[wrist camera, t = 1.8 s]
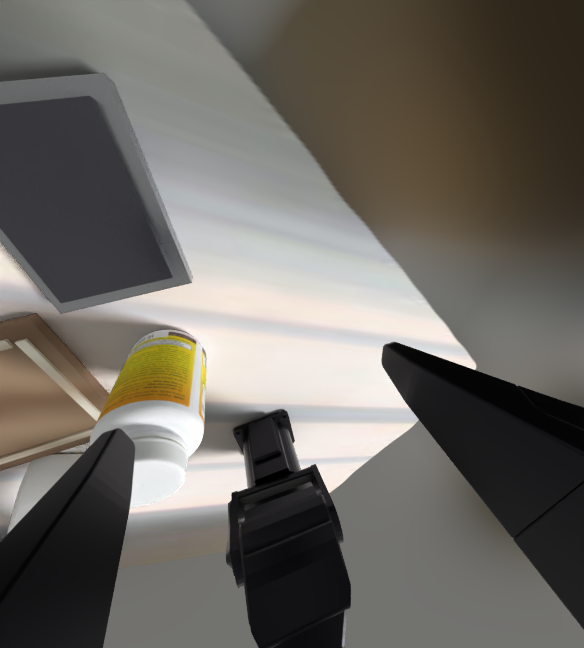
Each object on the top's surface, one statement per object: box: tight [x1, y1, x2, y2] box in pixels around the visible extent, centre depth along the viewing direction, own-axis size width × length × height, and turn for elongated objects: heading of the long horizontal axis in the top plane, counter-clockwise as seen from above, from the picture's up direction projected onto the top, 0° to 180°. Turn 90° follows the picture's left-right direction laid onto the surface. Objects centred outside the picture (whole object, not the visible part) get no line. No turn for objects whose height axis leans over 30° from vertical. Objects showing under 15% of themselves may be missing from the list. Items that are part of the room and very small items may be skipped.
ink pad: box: [0, 73, 193, 314], centre depth 12 cm, size 10×8×2 cm
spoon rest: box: [7, 454, 82, 534], centre depth 23 cm, size 24×12×7 cm, turn 157°
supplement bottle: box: [90, 330, 206, 508], centre depth 15 cm, size 6×6×10 cm
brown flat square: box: [0, 313, 109, 471], centre depth 17 cm, size 12×12×1 cm
